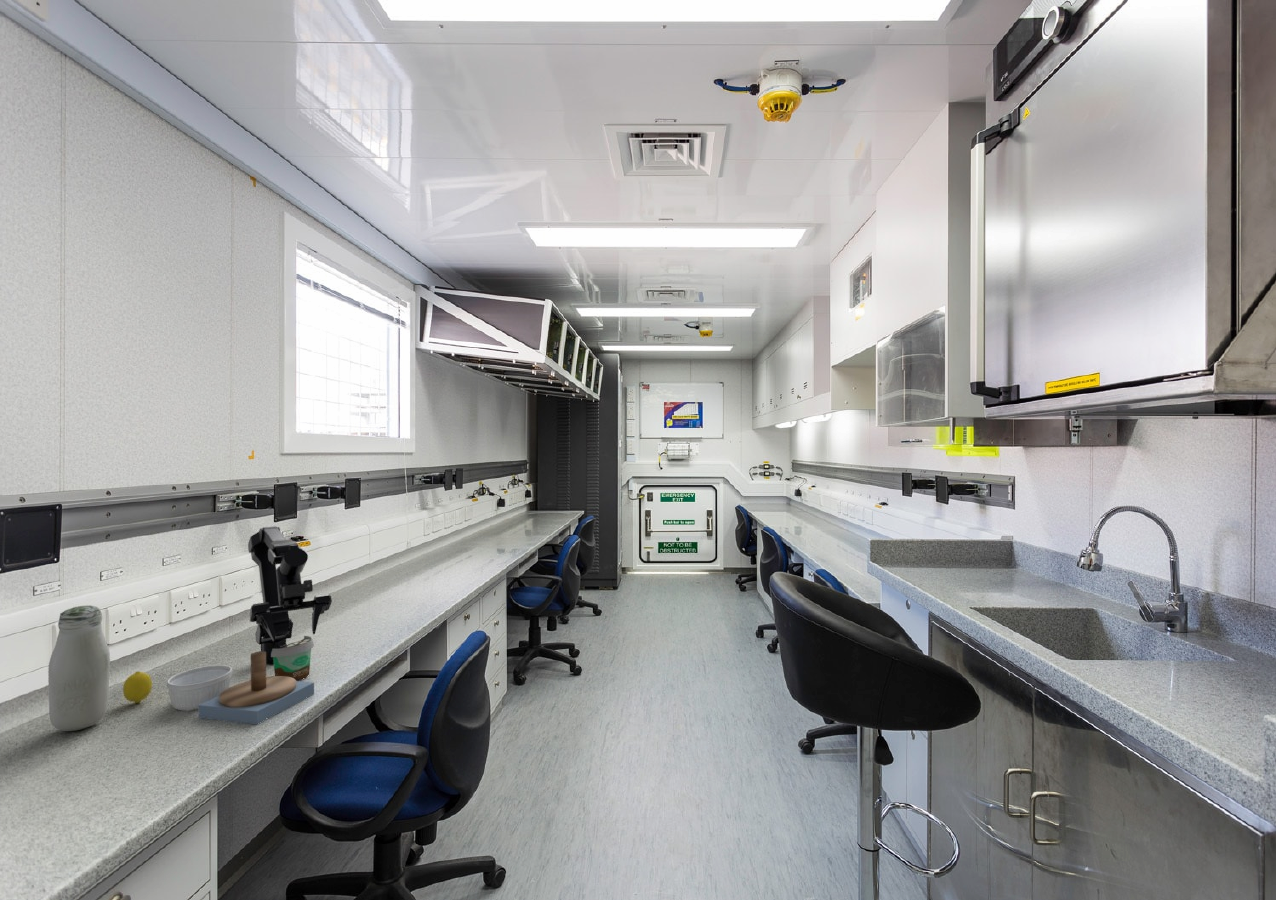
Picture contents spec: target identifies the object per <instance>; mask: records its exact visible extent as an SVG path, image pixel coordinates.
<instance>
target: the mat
mask: <svg viewBox="0 0 1276 900" xmlns="http://www.w3.org/2000/svg"><path fill="white" fill-rule="evenodd" d="M309 695H311V696H313V695H315V682H313V681H303V680H300V681H296V688H295V690H294V691H293V692H291V693H290V694H288V695H286V696H284V697H282V698H280V699H277V700H275V701H272V702H268V703H264V704H260V705H255V706H249V707H239V708H232V707H225V706H222V705H221V704H220V703H219V696H218V697H216V698H213V699H211V700H209V701H207V702H204V703H202V704H200V705H199V709H198V718H199V719H206V718H208V720H215V719H218V720H217V721H223V720H225V721H224V722H232V721H233V723H234V721H235V723H241V722H243V723H242V724H250V723H253V725H259V724H260V722H261V723H262V721H263V720H265V719H266V718H268V719H270V718H272V717H274V716H275V715H274V714H276V713H278V714H279V712H280V713H281V712H283V711H285V710H287V709H289V708H290V707H292V705H293V706H295V705H296V704H298V703H300V702H302V701H303V699H304V700H306V699H307V698H306V697H308V696H309ZM309 697H310V696H309ZM309 697H308V698H309ZM305 698H306V699H305ZM299 701H300V702H299ZM297 702H298V703H297ZM288 707H289V708H288ZM286 708H287V709H286ZM273 715H274V716H273ZM276 715H277V714H276ZM271 716H272V717H271ZM269 717H270V718H269ZM266 720H267V719H266ZM266 720H265V721H266ZM263 722H264V721H263ZM258 723H259V724H258Z"/></svg>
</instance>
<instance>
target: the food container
mask: <svg viewBox="0 0 1276 900" xmlns="http://www.w3.org/2000/svg"><path fill="white" fill-rule="evenodd" d="M314 647H315V644H314V640H313V639H312V636H309V635H303V638H302V639H301V640H298V641H296V642H295V641H294V642H292V643H288V644H287V645H286V646H285V647H283V648H281V649H272V652H271V657H273V662H274V664H273V672H274V676H287V677H292V678H294V679H295V680H296V681H299V680H300V681H303V680H304V679H303V678H305V679H306V677H307V676H308V675H309V676H310V669H311V659H312V658H311V656H312V655H311V654H312V649H313V648H314ZM309 676H308V677H309ZM308 677H307V678H308ZM302 679H303V680H302Z"/></svg>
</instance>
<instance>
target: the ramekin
mask: <svg viewBox="0 0 1276 900" xmlns="http://www.w3.org/2000/svg"><path fill="white" fill-rule="evenodd" d="M232 675H233V667H231V666H229V665H225V664H212V665H205V666H199V667H195V668H191V669H188V670H183V671H181V672H179V673H176V674H174V675H172V676H170V677H169V678H168V680H166V681H167V683H166V688H167V689H168V694H169V700H170V704H171V707H172V708H174V709H175V710H177V709H178V710H177V711H193V709H195V710H199V705H200V704H202V703H204V702H207V701H209V700H211V699H213V698H216V697H218V696H220V694H221V693H222V692H223V691H225V690H226V689H228V688H230V687H231V679H232V678H231V677H232Z"/></svg>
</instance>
